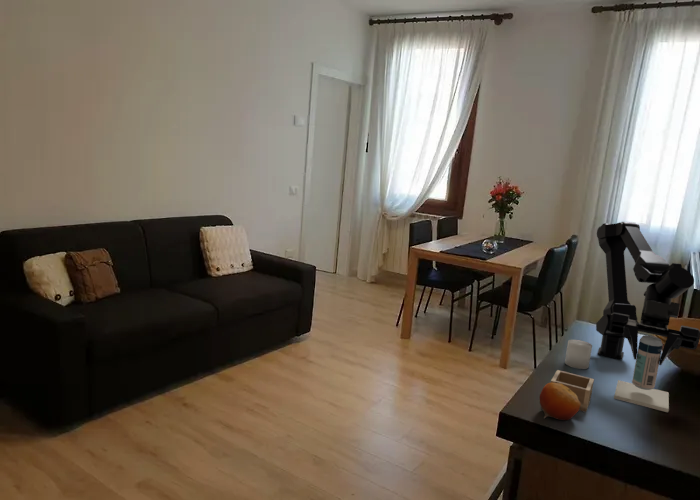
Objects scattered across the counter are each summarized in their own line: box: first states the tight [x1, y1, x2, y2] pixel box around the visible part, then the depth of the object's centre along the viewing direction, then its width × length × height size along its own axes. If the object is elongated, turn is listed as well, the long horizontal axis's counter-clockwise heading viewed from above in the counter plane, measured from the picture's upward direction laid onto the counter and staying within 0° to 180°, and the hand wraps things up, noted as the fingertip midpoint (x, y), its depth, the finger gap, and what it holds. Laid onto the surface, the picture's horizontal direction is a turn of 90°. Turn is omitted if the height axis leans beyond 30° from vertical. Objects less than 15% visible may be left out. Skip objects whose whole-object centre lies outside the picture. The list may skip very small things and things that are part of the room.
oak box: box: [550, 369, 595, 413], centre depth 122 cm, size 8×8×5 cm
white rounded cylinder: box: [564, 339, 593, 370], centre depth 145 cm, size 6×6×6 cm
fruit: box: [539, 381, 581, 421], centre depth 114 cm, size 8×8×8 cm
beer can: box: [631, 335, 664, 390], centre depth 126 cm, size 5×5×12 cm
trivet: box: [613, 379, 670, 413], centre depth 128 cm, size 11×11×1 cm
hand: (647, 361), depth 125 cm, fingers closed on beer can, 5 cm apart
